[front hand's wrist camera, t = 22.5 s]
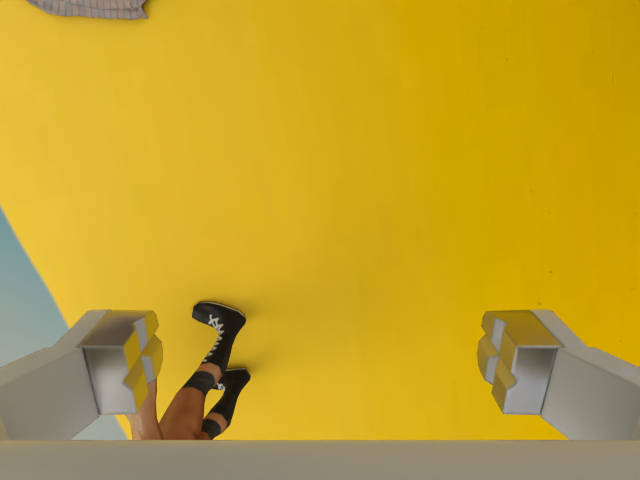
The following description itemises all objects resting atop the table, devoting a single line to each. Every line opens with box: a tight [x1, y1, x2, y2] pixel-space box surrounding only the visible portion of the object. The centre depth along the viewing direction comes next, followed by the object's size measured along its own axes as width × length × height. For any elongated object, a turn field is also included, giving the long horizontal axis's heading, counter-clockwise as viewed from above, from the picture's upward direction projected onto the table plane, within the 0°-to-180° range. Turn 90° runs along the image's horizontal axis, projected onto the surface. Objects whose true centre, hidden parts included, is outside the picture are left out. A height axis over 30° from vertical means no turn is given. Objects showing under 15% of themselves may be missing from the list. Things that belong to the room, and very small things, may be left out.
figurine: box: [125, 302, 251, 440], centre depth 34 cm, size 24×6×30 cm, turn 0°
